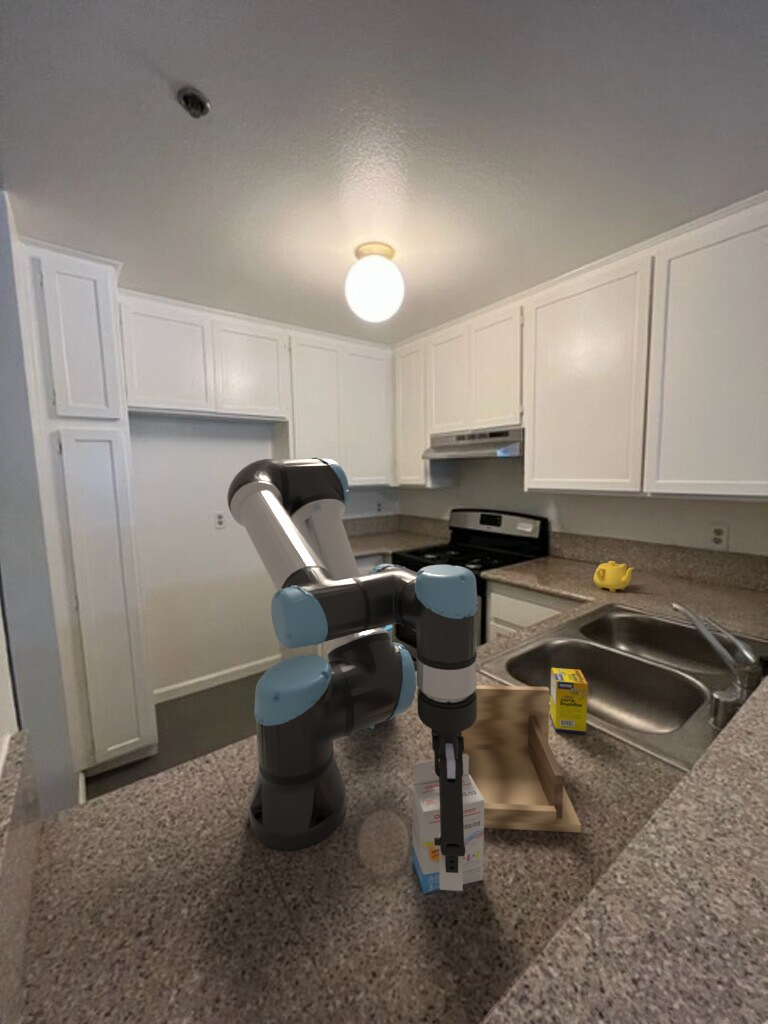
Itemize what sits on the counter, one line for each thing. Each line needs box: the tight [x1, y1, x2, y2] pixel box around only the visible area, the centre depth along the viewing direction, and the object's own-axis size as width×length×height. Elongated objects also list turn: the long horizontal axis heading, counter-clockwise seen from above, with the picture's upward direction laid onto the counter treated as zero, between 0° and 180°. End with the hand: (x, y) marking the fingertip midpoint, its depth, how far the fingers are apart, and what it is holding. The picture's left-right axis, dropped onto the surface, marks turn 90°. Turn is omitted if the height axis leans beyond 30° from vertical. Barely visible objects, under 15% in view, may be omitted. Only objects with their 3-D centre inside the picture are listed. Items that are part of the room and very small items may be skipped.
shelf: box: [461, 684, 582, 833], centre depth 70 cm, size 20×17×13 cm
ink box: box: [411, 754, 485, 895], centre depth 55 cm, size 8×5×15 cm, turn 103°
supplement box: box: [549, 667, 589, 736], centre depth 86 cm, size 6×6×11 cm
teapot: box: [593, 560, 635, 593], centre depth 177 cm, size 14×14×12 cm
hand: (447, 843), depth 56 cm, fingers open, 11 cm apart
